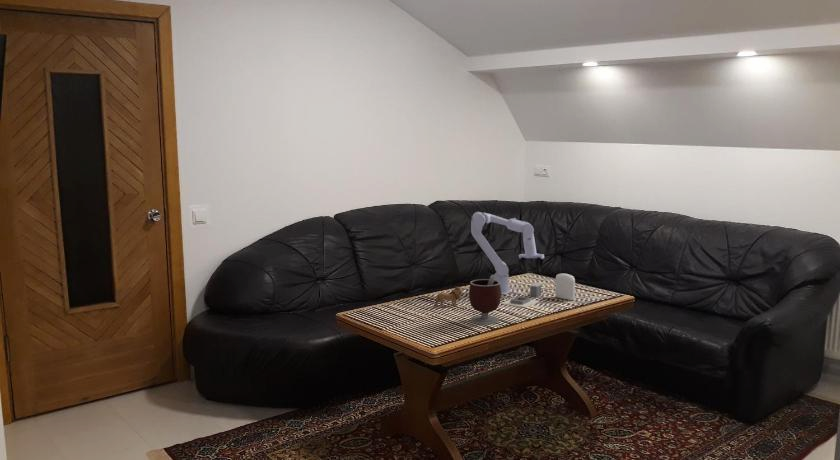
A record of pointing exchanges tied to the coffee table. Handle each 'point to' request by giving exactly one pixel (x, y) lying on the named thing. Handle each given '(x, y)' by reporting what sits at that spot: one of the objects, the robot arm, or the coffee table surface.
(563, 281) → the photo printer
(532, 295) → the block
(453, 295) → the lion figurine
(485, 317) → the mate gourd
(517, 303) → the plate
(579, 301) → the coffee table surface
